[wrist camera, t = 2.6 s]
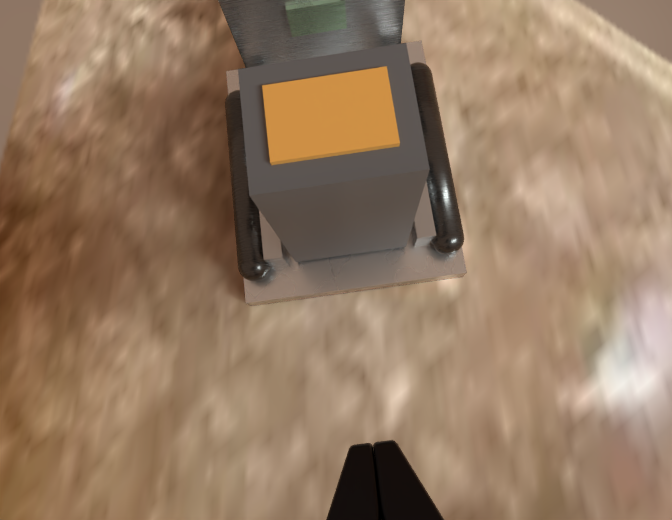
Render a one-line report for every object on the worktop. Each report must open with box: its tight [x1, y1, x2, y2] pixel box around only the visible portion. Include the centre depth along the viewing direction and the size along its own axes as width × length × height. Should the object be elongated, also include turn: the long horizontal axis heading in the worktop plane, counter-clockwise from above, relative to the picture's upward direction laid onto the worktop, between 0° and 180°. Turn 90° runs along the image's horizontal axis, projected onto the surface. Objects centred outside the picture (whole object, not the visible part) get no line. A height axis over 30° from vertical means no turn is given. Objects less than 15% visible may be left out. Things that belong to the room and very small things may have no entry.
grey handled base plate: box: [218, 0, 467, 306], centre depth 20 cm, size 12×10×7 cm
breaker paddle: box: [238, 43, 430, 262], centre depth 17 cm, size 4×5×9 cm
